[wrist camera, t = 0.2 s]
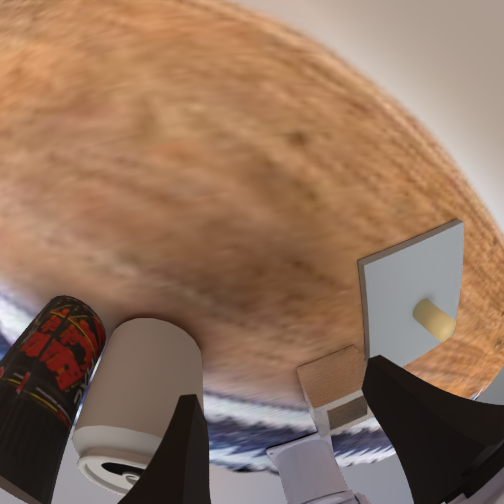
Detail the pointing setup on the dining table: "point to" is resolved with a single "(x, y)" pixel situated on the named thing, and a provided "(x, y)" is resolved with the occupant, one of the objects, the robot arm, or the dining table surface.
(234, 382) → the dining table surface
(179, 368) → the can
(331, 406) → the collar
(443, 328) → the post block
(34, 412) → the deodorant
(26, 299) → the dining table surface
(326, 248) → the dining table surface
